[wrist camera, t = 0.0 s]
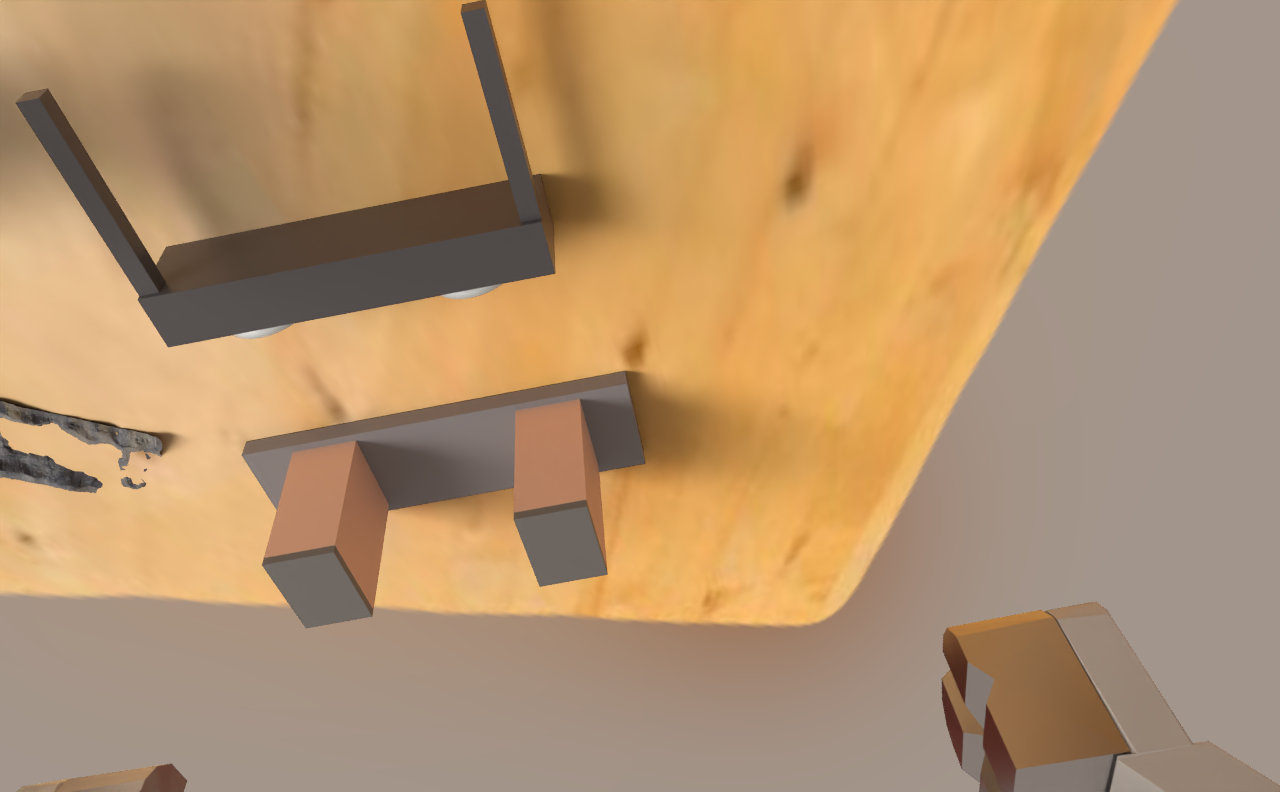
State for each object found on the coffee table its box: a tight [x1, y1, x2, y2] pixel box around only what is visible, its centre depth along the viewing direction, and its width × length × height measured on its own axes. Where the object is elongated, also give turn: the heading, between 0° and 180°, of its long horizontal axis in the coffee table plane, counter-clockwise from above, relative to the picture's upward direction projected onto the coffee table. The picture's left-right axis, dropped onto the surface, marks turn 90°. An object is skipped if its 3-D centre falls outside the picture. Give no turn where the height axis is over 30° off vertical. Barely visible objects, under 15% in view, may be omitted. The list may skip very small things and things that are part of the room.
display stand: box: [242, 371, 645, 628], centre depth 56 cm, size 7×24×10 cm, turn 99°
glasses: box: [16, 0, 555, 347], centre depth 45 cm, size 14×20×5 cm
